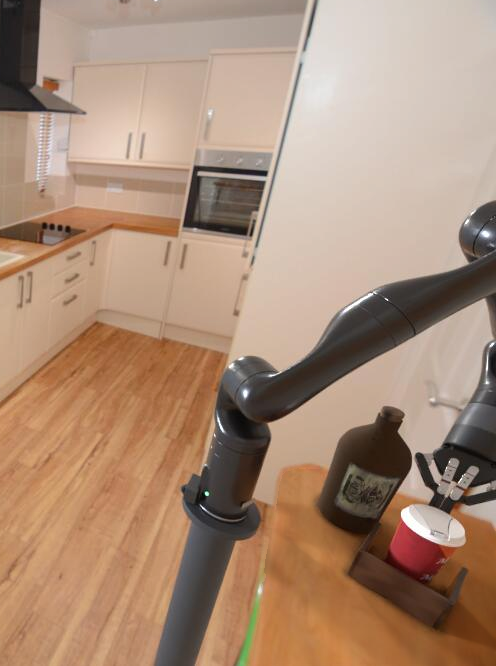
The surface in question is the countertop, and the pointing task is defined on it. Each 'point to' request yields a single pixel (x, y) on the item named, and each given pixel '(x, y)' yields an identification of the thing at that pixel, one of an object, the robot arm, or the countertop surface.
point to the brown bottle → (366, 473)
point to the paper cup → (424, 542)
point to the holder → (404, 585)
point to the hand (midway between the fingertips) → (435, 515)
